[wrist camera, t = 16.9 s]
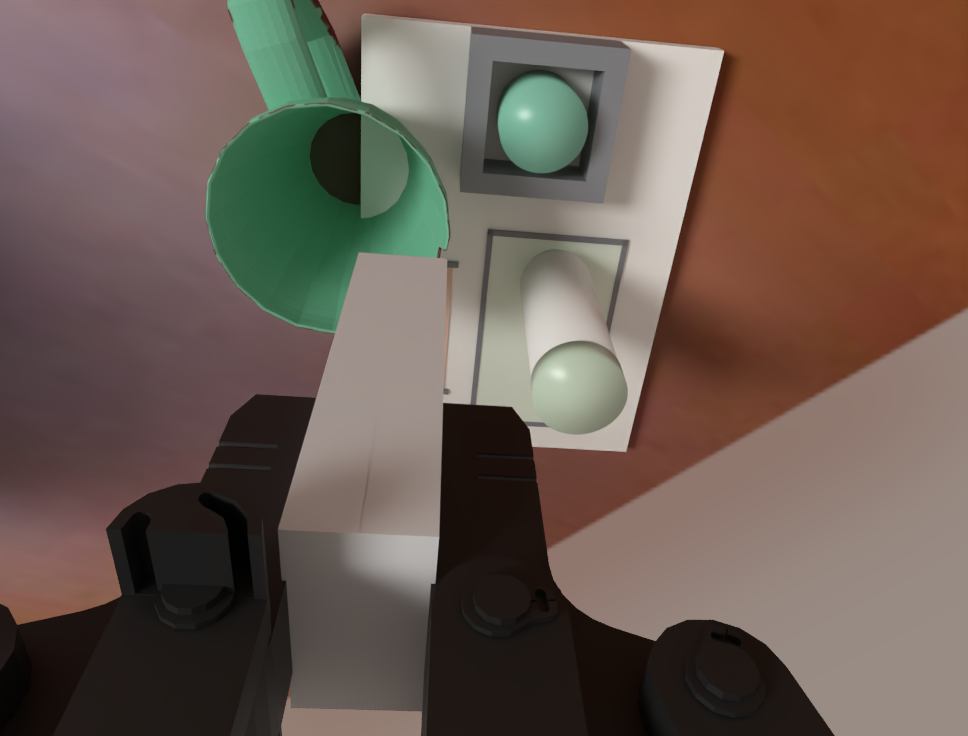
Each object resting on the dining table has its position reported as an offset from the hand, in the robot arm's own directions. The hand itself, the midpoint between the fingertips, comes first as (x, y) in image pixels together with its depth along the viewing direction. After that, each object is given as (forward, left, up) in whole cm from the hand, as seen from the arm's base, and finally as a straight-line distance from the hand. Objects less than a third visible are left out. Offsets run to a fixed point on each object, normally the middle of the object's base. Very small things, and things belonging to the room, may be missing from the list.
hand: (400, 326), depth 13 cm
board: (+5, -10, -26) cm, 29 cm away
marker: (+7, -10, -25) cm, 28 cm away
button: (+5, -1, -25) cm, 25 cm away
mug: (-5, -3, -27) cm, 28 cm away
